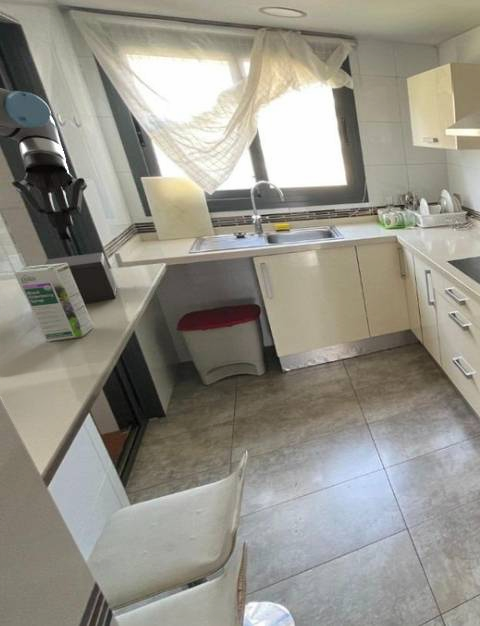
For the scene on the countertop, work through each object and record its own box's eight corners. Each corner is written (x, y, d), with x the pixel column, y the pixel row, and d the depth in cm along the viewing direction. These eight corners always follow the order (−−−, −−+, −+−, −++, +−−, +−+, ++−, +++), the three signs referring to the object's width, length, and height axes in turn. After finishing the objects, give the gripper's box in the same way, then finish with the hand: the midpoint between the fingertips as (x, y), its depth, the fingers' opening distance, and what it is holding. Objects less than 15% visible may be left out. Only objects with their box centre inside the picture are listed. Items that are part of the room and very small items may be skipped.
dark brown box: (115, 298, 115) (102, 264, 111) (59, 308, 108) (43, 272, 105) (116, 287, 123) (104, 255, 120) (63, 296, 117) (49, 263, 113)
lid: (102, 265, 111) (101, 261, 110) (42, 273, 105) (40, 269, 104) (104, 255, 120) (102, 252, 119) (49, 262, 113) (47, 259, 113)
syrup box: (45, 343, 90) (11, 272, 85) (60, 332, 95) (29, 264, 90) (82, 337, 92) (52, 268, 87) (95, 327, 97) (67, 261, 92)
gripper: (84, 170, 123) (105, 241, 118) (14, 173, 116) (32, 249, 110) (75, 149, 118) (96, 223, 112) (-1, 151, 110) (18, 230, 104)
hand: (64, 236), depth 111 cm, fingers closed
